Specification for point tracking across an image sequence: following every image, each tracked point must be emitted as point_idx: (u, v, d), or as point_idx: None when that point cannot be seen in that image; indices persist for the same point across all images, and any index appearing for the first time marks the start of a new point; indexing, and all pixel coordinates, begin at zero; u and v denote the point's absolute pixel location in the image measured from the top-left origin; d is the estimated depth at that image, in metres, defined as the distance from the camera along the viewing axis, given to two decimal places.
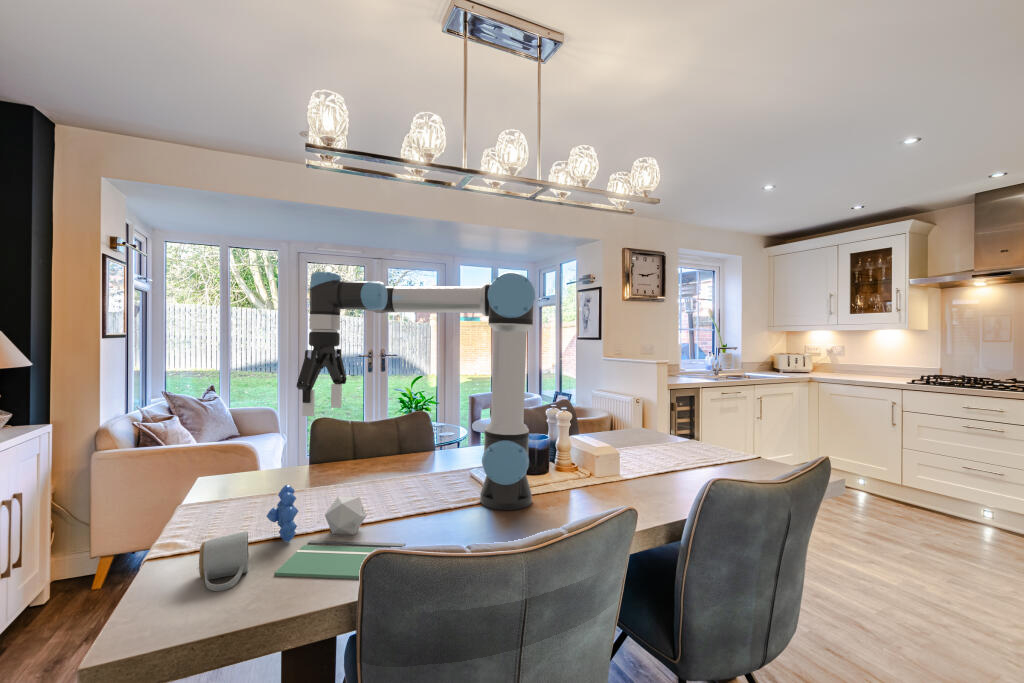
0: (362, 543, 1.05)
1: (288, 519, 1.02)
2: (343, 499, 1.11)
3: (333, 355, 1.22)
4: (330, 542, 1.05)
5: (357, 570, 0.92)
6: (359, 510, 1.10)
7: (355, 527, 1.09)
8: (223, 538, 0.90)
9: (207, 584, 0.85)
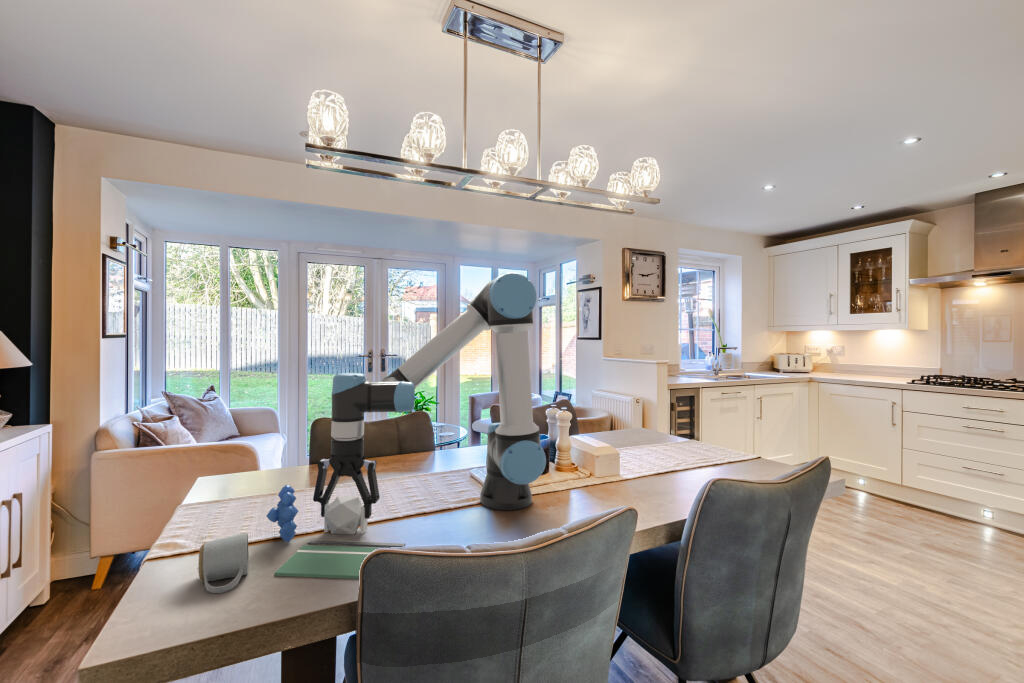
0: (362, 543, 1.05)
1: (288, 519, 1.02)
2: (342, 499, 1.11)
3: (349, 465, 1.09)
4: (330, 542, 1.05)
5: (357, 570, 0.92)
6: (358, 510, 1.10)
7: (354, 527, 1.09)
8: (223, 540, 0.89)
9: (206, 586, 0.84)
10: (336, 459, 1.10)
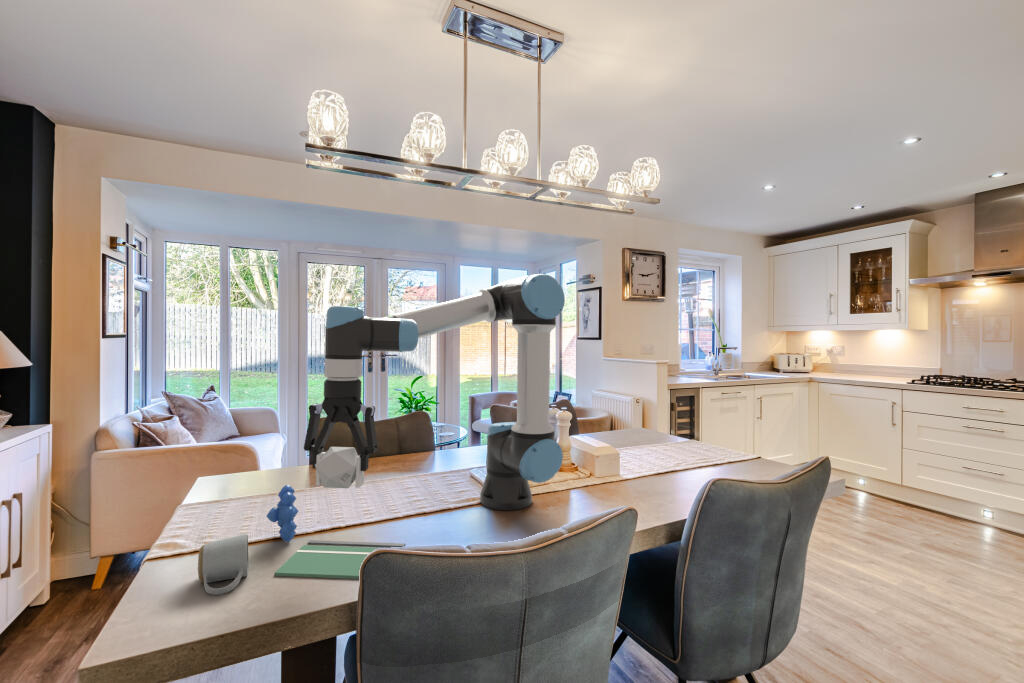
0: (362, 543, 1.05)
1: (288, 519, 1.02)
2: (336, 449, 0.98)
3: (344, 410, 0.96)
4: (330, 542, 1.05)
5: (357, 570, 0.92)
6: (353, 461, 0.97)
7: (349, 480, 0.96)
8: (222, 541, 0.89)
9: (206, 588, 0.83)
10: (330, 403, 0.97)
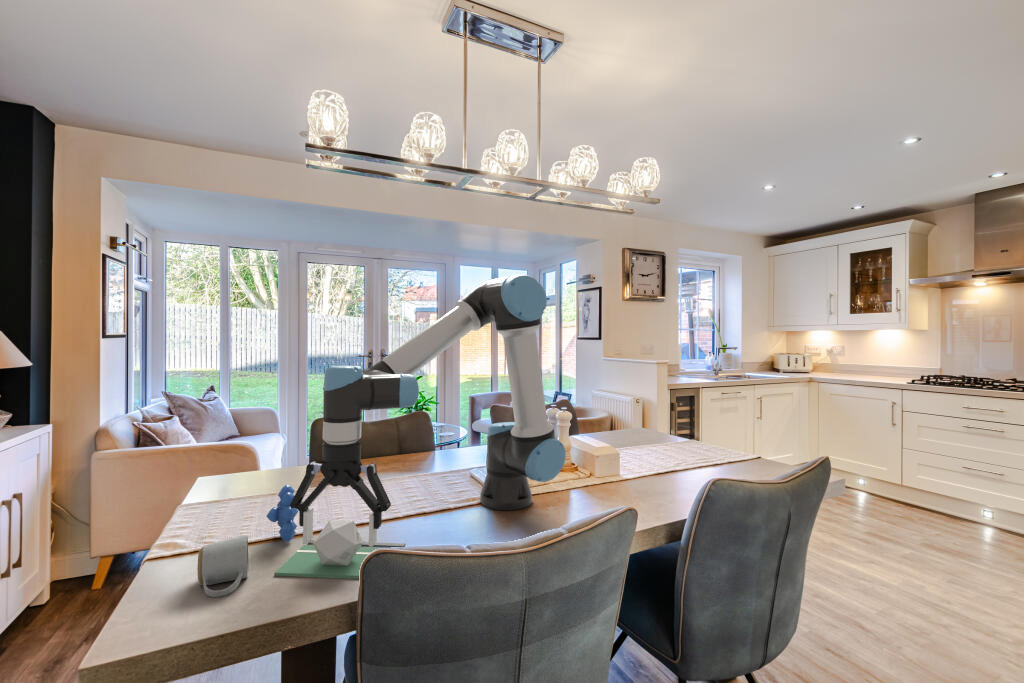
0: (362, 543, 1.05)
1: (288, 519, 1.02)
2: (335, 524, 0.95)
3: (344, 474, 0.93)
4: None
5: (357, 570, 0.92)
6: (353, 537, 0.94)
7: (348, 557, 0.93)
8: (222, 543, 0.88)
9: (206, 590, 0.83)
10: (329, 467, 0.94)
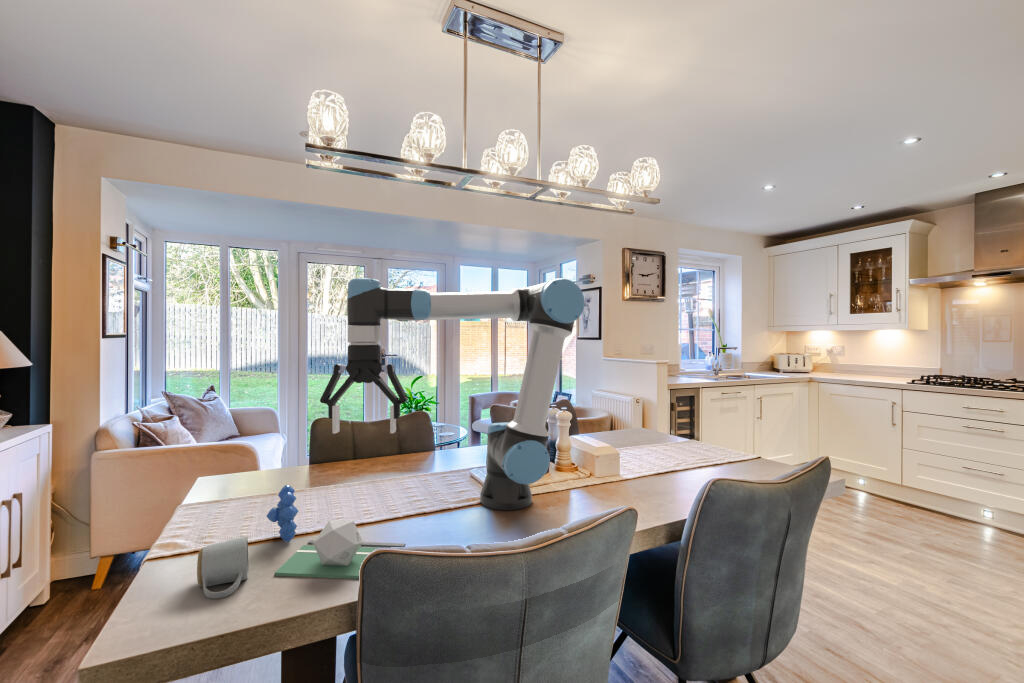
0: (362, 543, 1.05)
1: (288, 519, 1.02)
2: (335, 524, 0.95)
3: (367, 371, 1.08)
4: None
5: (357, 570, 0.92)
6: (353, 537, 0.94)
7: (348, 557, 0.93)
8: (222, 544, 0.88)
9: (205, 591, 0.82)
10: (354, 367, 1.09)
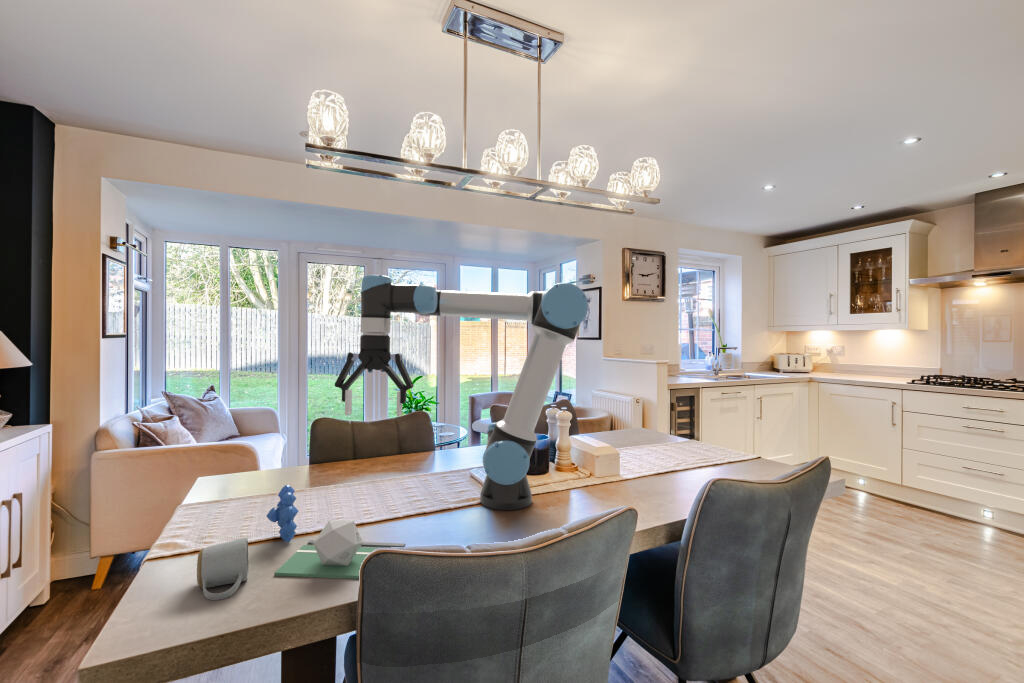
0: (362, 543, 1.05)
1: (288, 519, 1.02)
2: (335, 524, 0.95)
3: (377, 359, 1.19)
4: None
5: (357, 570, 0.92)
6: (353, 537, 0.94)
7: (348, 557, 0.93)
8: (222, 545, 0.87)
9: (205, 593, 0.82)
10: (365, 355, 1.20)
